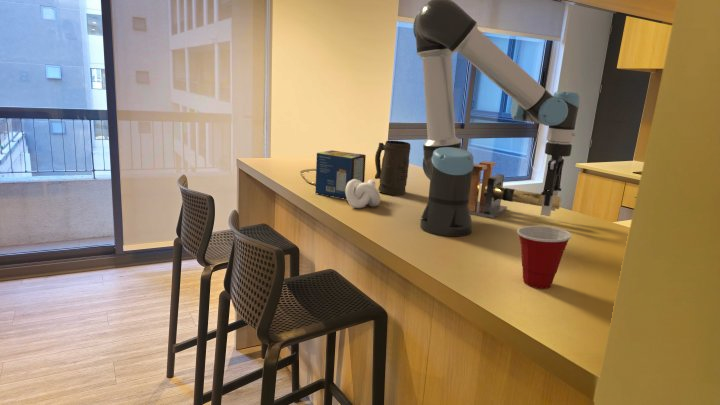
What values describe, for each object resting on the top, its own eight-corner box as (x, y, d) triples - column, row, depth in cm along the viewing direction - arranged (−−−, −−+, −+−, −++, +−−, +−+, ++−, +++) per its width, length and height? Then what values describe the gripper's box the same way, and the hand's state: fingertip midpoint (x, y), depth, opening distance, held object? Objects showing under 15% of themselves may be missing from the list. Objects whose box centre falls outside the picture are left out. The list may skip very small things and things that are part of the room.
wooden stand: (493, 218, 151) (500, 169, 147) (442, 208, 160) (447, 162, 156) (506, 209, 164) (512, 164, 160) (458, 200, 173) (463, 158, 169)
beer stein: (411, 192, 182) (415, 142, 178) (399, 197, 174) (403, 144, 169) (378, 186, 190) (381, 138, 186) (364, 190, 181) (367, 139, 177)
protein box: (330, 189, 181) (331, 150, 177) (364, 195, 173) (366, 154, 170) (314, 193, 172) (315, 152, 168) (349, 200, 165) (351, 157, 161)
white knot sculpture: (352, 211, 150) (353, 184, 148) (338, 202, 161) (339, 177, 158) (383, 209, 155) (384, 183, 152) (368, 201, 165) (369, 176, 163)
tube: (557, 210, 146) (559, 197, 144) (483, 198, 158) (484, 185, 157) (559, 208, 149) (562, 195, 148) (486, 196, 161) (488, 184, 160)
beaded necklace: (310, 188, 182) (310, 184, 182) (296, 172, 215) (296, 168, 214) (355, 188, 188) (356, 184, 187) (336, 172, 220) (336, 168, 220)
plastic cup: (509, 270, 107) (516, 220, 104) (559, 278, 104) (568, 227, 101) (510, 288, 97) (518, 234, 94) (565, 297, 94) (575, 241, 91)
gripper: (566, 146, 133) (554, 221, 139) (577, 141, 151) (565, 208, 156) (539, 143, 137) (528, 217, 142) (552, 139, 154) (542, 204, 160)
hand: (548, 212), depth 149 cm, fingers open, 8 cm apart
